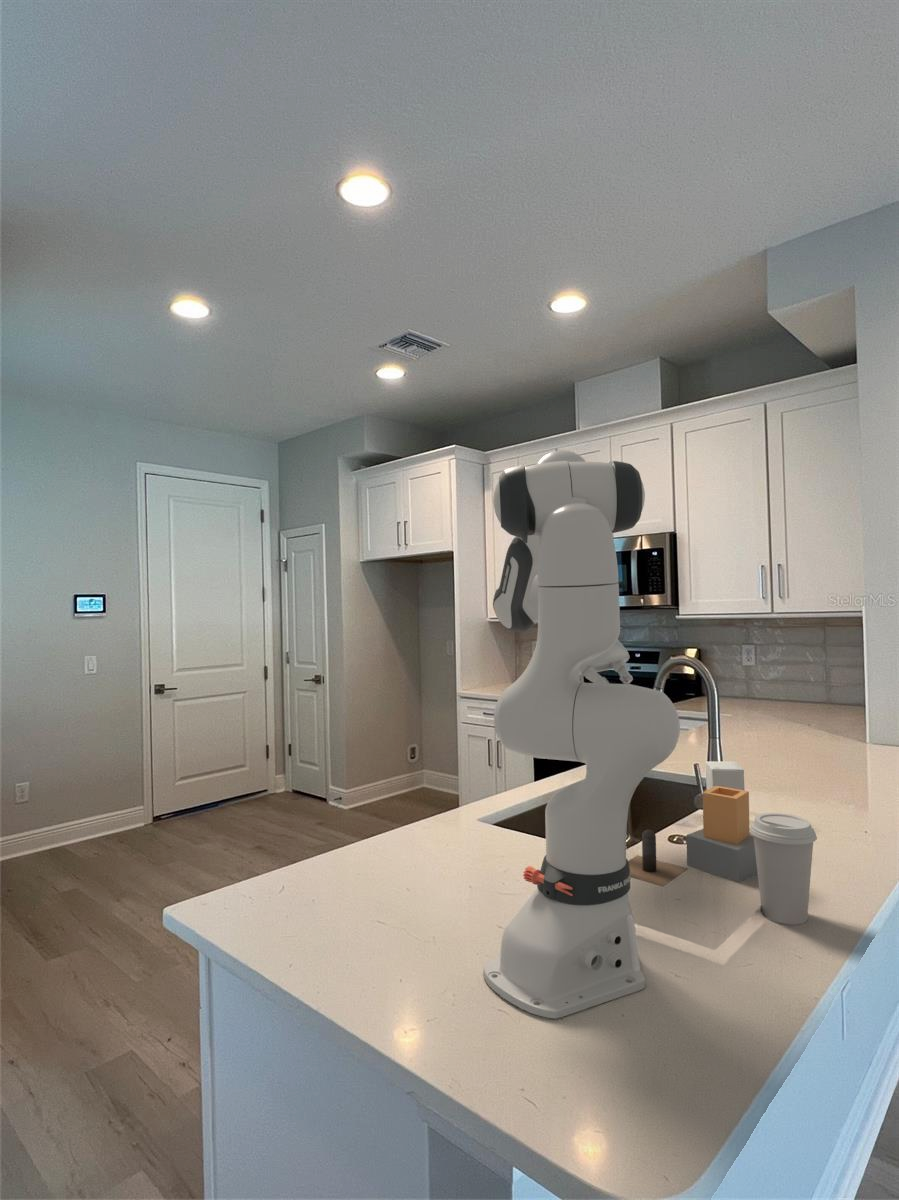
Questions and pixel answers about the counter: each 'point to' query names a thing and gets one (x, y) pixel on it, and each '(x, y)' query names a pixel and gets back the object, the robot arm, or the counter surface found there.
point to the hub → (722, 856)
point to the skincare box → (724, 775)
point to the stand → (652, 863)
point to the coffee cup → (783, 865)
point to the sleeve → (726, 814)
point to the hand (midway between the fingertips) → (617, 684)
